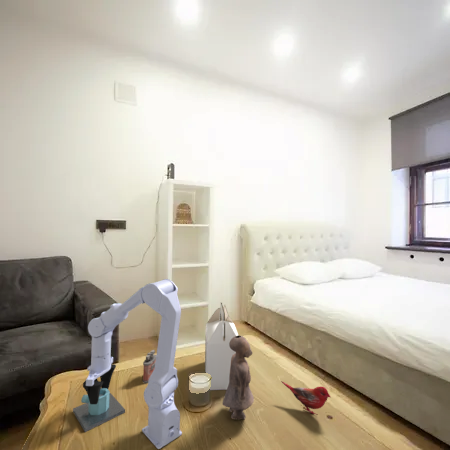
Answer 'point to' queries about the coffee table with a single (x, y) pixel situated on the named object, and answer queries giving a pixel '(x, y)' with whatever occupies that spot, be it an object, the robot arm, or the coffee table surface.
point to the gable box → (219, 348)
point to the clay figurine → (239, 379)
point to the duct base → (95, 420)
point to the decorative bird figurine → (310, 396)
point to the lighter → (149, 366)
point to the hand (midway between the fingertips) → (99, 395)
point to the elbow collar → (102, 402)
